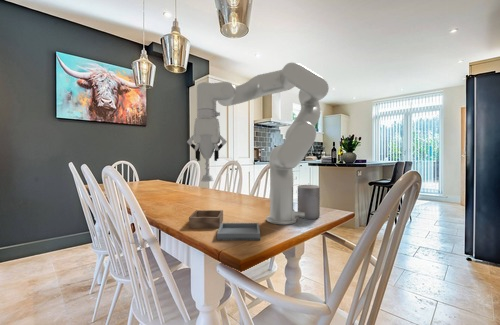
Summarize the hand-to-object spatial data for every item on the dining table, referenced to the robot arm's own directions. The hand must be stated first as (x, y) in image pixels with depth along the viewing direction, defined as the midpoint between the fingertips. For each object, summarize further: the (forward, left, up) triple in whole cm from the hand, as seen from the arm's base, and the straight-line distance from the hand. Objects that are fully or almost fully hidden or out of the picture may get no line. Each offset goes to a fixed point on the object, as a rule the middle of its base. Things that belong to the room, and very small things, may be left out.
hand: (207, 160), depth 94 cm
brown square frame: (0, 0, -25) cm, 25 cm away
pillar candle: (-43, -11, -26) cm, 52 cm away
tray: (-13, +13, -25) cm, 31 cm away
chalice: (0, 0, -8) cm, 8 cm away
